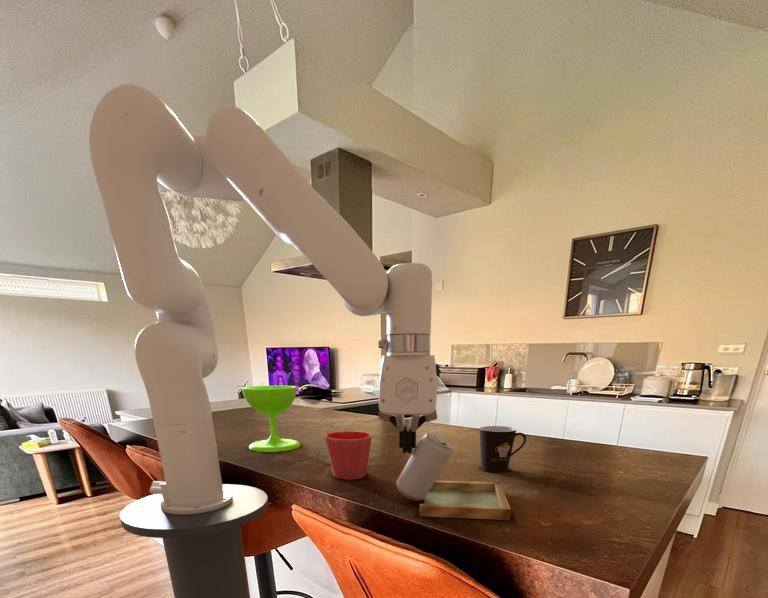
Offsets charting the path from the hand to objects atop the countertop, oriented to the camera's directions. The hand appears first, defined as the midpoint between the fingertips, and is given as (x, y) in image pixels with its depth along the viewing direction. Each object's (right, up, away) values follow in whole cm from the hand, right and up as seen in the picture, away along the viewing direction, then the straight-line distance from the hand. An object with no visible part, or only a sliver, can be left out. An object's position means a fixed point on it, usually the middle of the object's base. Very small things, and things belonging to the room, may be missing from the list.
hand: (407, 451), depth 79 cm
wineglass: (-39, +9, +54) cm, 67 cm away
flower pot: (-13, -3, +21) cm, 25 cm away
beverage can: (0, -8, +3) cm, 8 cm away
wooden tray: (+11, -10, +2) cm, 15 cm away
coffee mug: (+25, -1, +26) cm, 36 cm away
